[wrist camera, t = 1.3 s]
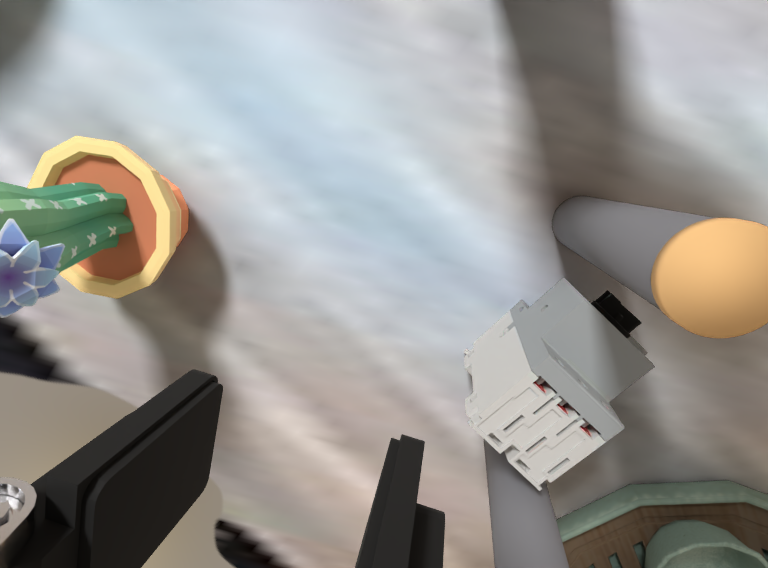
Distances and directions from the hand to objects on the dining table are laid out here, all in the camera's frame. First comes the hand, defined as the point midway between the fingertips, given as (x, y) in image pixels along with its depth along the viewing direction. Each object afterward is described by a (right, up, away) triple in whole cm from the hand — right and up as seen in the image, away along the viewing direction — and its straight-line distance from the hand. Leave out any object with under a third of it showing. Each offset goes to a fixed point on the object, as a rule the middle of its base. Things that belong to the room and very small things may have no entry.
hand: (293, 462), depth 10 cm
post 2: (+21, +10, +33) cm, 40 cm away
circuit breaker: (+18, -1, +36) cm, 40 cm away
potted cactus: (-24, +12, +40) cm, 48 cm away
